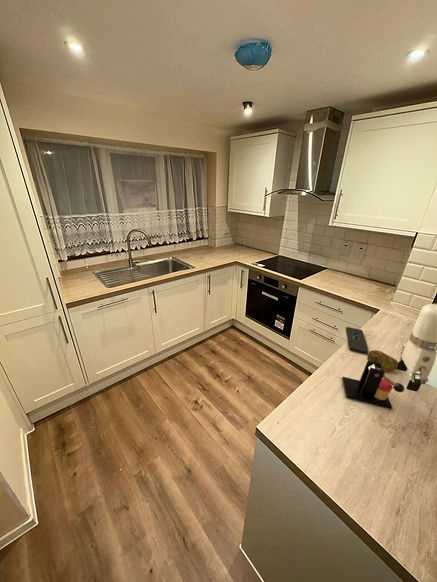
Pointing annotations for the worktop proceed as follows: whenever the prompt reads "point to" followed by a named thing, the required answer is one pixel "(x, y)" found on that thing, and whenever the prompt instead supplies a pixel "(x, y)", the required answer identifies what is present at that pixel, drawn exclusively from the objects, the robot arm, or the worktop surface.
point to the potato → (383, 360)
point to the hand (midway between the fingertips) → (406, 379)
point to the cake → (383, 390)
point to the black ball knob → (390, 381)
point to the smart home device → (356, 340)
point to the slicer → (366, 386)
